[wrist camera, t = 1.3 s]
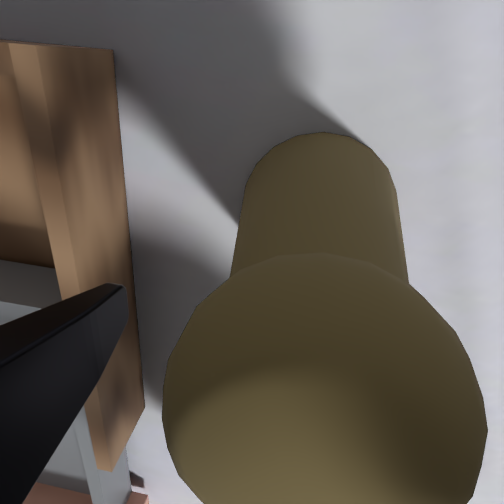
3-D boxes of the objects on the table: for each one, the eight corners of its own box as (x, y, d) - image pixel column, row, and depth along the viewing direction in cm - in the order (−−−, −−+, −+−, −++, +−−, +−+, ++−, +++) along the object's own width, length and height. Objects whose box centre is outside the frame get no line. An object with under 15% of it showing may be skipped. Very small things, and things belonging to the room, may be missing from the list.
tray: (148, 504, 26) (122, 573, 22) (-1, 469, 27) (-49, 529, 24) (126, 280, 17) (75, 338, 13) (-98, 243, 18) (-198, 287, 15)
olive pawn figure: (346, 96, 12) (432, 214, 3) (425, 232, 14) (646, 593, 5) (213, 189, 15) (15, 427, 5) (295, 296, 17) (259, 623, 7)
